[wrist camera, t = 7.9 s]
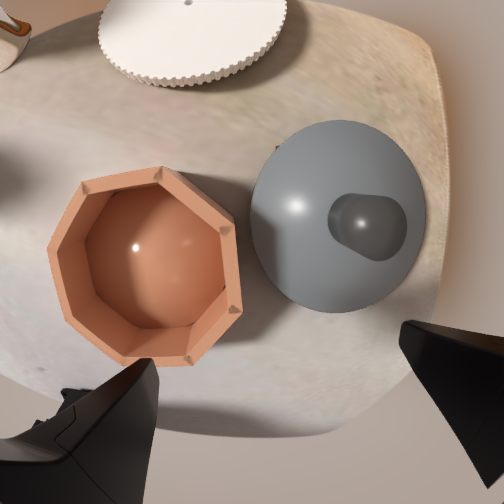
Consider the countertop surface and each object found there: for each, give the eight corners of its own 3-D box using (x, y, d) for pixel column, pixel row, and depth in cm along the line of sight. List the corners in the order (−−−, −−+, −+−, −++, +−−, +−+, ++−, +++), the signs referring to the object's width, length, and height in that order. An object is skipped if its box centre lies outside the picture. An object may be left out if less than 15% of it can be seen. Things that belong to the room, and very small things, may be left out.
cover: (416, 290, 20) (451, 312, 16) (261, 322, 20) (271, 360, 15) (412, 127, 17) (452, 118, 12) (238, 126, 16) (242, 106, 12)
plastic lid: (100, 105, 16) (85, 97, 14) (123, -16, 13) (115, -30, 10) (286, 89, 17) (294, 77, 15) (275, -30, 14) (279, -46, 11)
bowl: (244, 327, 21) (248, 361, 16) (102, 334, 20) (81, 364, 16) (228, 165, 18) (229, 158, 13) (73, 190, 17) (39, 192, 13)
